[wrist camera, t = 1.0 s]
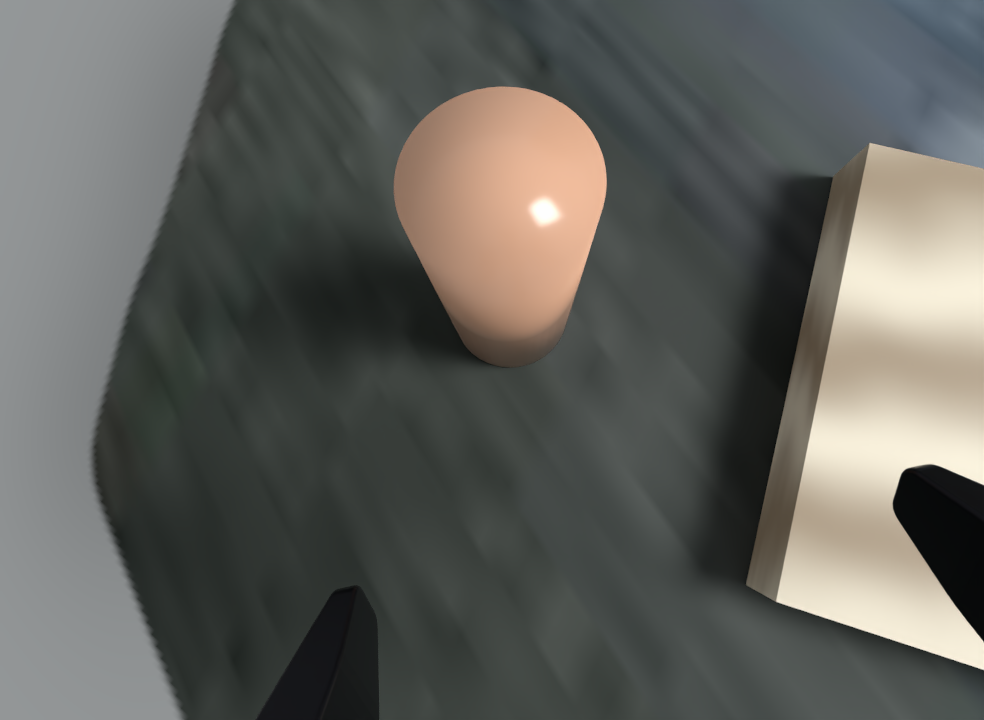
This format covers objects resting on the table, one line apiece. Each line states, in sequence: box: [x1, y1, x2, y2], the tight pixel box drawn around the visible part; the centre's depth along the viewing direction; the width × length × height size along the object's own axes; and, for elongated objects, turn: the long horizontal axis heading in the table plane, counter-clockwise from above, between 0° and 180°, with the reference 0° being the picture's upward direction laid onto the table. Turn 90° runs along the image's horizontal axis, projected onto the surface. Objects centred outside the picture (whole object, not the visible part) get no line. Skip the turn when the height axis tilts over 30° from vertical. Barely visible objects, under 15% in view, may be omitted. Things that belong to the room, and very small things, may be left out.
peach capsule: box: [394, 87, 607, 368], centre depth 18 cm, size 5×5×11 cm
